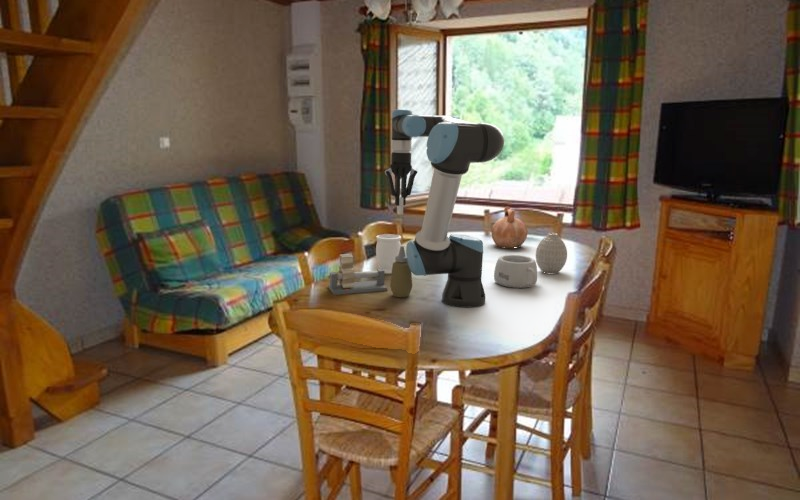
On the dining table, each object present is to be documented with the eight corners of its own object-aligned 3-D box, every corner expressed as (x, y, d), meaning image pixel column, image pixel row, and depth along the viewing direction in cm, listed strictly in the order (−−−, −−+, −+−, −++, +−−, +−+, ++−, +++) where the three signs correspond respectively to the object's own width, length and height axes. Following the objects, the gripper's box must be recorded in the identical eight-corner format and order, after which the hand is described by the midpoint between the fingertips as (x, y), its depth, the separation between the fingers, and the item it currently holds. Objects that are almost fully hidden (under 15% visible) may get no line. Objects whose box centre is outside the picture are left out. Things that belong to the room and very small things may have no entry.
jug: (530, 251, 279) (533, 211, 275) (493, 250, 279) (495, 210, 275) (522, 243, 297) (525, 205, 293) (488, 242, 297) (490, 204, 293)
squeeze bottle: (404, 300, 197) (406, 250, 193) (385, 296, 202) (386, 247, 198) (416, 294, 204) (417, 246, 200) (397, 290, 208) (398, 243, 204)
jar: (397, 275, 229) (398, 239, 226) (373, 273, 231) (373, 237, 228) (402, 269, 239) (403, 234, 236) (379, 267, 241) (379, 233, 238)
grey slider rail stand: (387, 290, 208) (387, 273, 207) (333, 294, 202) (333, 277, 200) (379, 283, 217) (379, 266, 216) (327, 287, 211) (327, 270, 209)
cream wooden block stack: (354, 287, 205) (354, 257, 203) (343, 288, 204) (343, 257, 202) (349, 282, 212) (349, 253, 209) (338, 282, 210) (338, 253, 208)
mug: (485, 279, 226) (486, 255, 224) (520, 276, 232) (521, 252, 230) (516, 294, 207) (518, 268, 205) (553, 290, 213) (555, 264, 211)
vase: (528, 272, 239) (531, 233, 235) (543, 266, 248) (546, 229, 245) (556, 278, 231) (559, 238, 227) (570, 272, 240) (574, 234, 236)
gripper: (413, 151, 218) (412, 211, 223) (381, 151, 213) (380, 213, 218) (421, 152, 211) (419, 214, 216) (388, 152, 206) (387, 216, 211)
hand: (400, 213), depth 217 cm, fingers closed
